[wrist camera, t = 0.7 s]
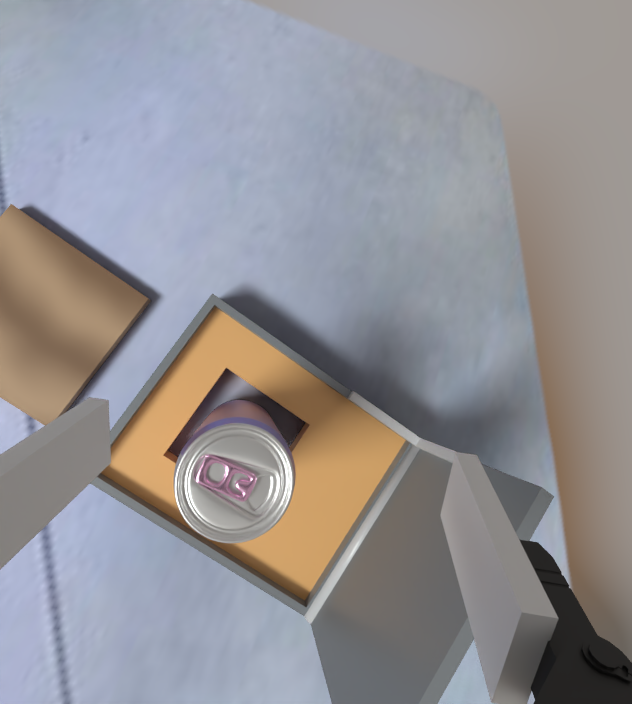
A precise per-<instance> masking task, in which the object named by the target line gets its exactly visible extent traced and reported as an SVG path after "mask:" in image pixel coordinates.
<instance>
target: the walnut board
mask: <svg viewBox="0 0 632 704" xmlns="http://www.w3.org/2000/svg"><path fill="white" fill-rule="evenodd" d="M150 302H151V300H150V299H148V298H147V297H145V296H144V295H143V294H141V293H140V292H138V291H137V290H135V289H134V288H132V287H131V286H130V285H128V284H127V283H125V282H124V281H122V280H121V279H119V278H118V277H116V276H115V275H114V274H112V273H111V272H109V271H108V270H106V269H105V268H103V267H102V266H100V265H99V264H98V263H96V262H95V261H93V260H92V259H90V258H89V257H87V256H86V255H85V254H83V253H82V252H80V251H79V250H77V249H76V248H74V247H73V246H71V245H70V244H69V243H67V242H66V241H64V240H63V239H61V238H60V237H58V236H57V235H56V234H54V233H53V232H51V231H50V230H48V229H47V228H45V227H44V226H42V225H41V224H40V223H38V222H37V221H35V220H34V219H32V218H31V217H29V216H28V215H26V214H25V213H24V212H22V211H21V210H19V209H18V208H16V207H15V206H13V205H12V204H11V205H10V206H9V207H8V209H7V210H6V211H5V212H4V213H3V214H2V216H1V217H0V397H1V398H2V399H4V400H5V401H7V402H9V403H10V404H12V405H13V406H15V407H17V408H18V409H20V410H21V411H23V412H25V413H26V414H28V415H29V416H31V417H32V418H34V419H36V420H37V421H39V422H40V423H42V424H44V425H45V426H46V425H47V424H49V423H50V422H52V421H53V420H55V419H56V418H58V417H60V416H61V415H63V414H64V413H66V411H67V410H68V409H69V408H70V406H71V405H72V404H73V402H74V401H75V400H76V398H77V397H78V396H79V394H80V393H81V392H82V391H83V389H84V388H85V387H86V385H87V384H88V383H89V381H90V380H91V379H92V377H93V376H94V375H95V374H96V372H97V371H98V370H99V368H100V367H101V366H102V364H103V363H104V362H105V360H106V359H107V358H108V357H109V355H110V354H111V353H112V351H113V350H114V349H115V347H116V346H117V345H118V344H119V342H120V341H121V340H122V338H123V337H124V336H125V334H126V333H127V332H128V330H129V329H130V328H131V327H132V325H133V324H134V323H135V321H136V320H137V319H138V317H139V316H140V315H141V313H142V312H143V311H144V310H145V308H146V307H147V306H148V304H149V303H150Z"/></svg>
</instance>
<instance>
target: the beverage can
mask: <svg viewBox="0 0 632 704" xmlns="http://www.w3.org/2000/svg"><path fill="white" fill-rule="evenodd" d="M295 479H296V471H295V463H294V459H293V456H292V453H291V451H290V449H289V447H288V445H287V443H286V442H285V440H284V438H283V437H282V435H281V433H280V432H279V430H278V428H277V427H276V425H275V423H274V422H273V420H272V418H271V417H270V415H269V414H268V413H267V411H266V410H265V409H263V408H262V407H261V406H259V405H258V404H256V403H253V402H251V401H246V400H233V401H229V402H226V403H223V404H221V405H220V406H218V407H217V408H215V409H214V410H213V411H212V412H211V413H210V414H209V415H208V417H207V418H206V419H205V420H204V422H203V423H202V424H201V425H200V427H199V428H198V429H197V430H196V432H195V433H194V434H193V435H192V437H191V438H190V439H189V440H188V442H187V443H186V444H185V446H184V447H183V449H182V451H181V452H180V455H179V457H178V459H177V462H176V466H175V470H174V492H175V499H176V503H177V506H178V508H179V511H180V513H181V515H182V516H183V518H184V519H185V521H186V522H187V523H188V524H189V526H190V527H191V528H192V529H194V530H195V531H196V532H197V533H199V534H200V535H202V536H204V537H206V538H208V539H210V540H213V541H217V542H221V543H241V542H246V541H249V540H252V539H255V538H257V537H259V536H261V535H263V534H264V533H266V532H267V531H269V530H270V529H271V528H272V527H274V526H275V525H276V524H277V523H278V521H279V520H280V519H281V518H282V516H283V515H284V513H285V512H286V510H287V508H288V506H289V504H290V501H291V498H292V495H293V491H294V486H295Z"/></svg>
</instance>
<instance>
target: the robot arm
mask: <svg viewBox="0 0 632 704" xmlns="http://www.w3.org/2000/svg"><path fill="white" fill-rule="evenodd" d="M110 463H111V450H110V425H109V400H104V399H97V398H91V397H89V398H87V399H86V400H84V401H83V402H81V403H80V404H78V405H77V406H75V407H73V408H72V409H70V410H69V411H67V412H66V413H64V414H63V415H61V416H60V417H58V418H56V419H55V420H53V421H52V422H50V423H49V424H47V425H46V426H44V427H42V428H41V429H39V430H38V431H36V432H35V433H33V434H32V435H30V436H29V437H27V438H25V439H24V440H22V441H21V442H19V443H18V444H16V445H15V446H13V447H11V448H10V449H8V450H7V451H5V452H4V453H2V454H1V455H0V569H1V568H2V567H3V566H4V565H6V564H7V563H8V562H9V561H10V560H11V559H12V558H13V557H14V556H15V555H16V554H17V553H18V552H19V551H20V550H21V549H22V548H23V547H24V546H25V545H26V544H27V543H28V542H29V541H30V540H31V539H32V538H34V537H35V536H36V535H37V534H38V533H39V532H40V531H41V530H42V529H43V528H44V527H45V526H46V525H47V524H48V523H49V522H50V521H51V520H52V519H53V518H54V517H55V516H56V515H57V514H58V513H59V512H61V511H62V510H63V509H64V508H65V507H66V506H67V505H68V504H69V503H70V502H71V501H72V500H73V499H74V498H75V497H76V496H77V495H78V494H79V493H80V492H81V491H82V490H83V489H84V488H85V487H86V486H87V485H89V484H90V483H91V482H92V481H93V480H94V479H95V478H96V477H97V476H98V475H99V474H100V473H101V472H102V471H103V470H104V469H105V468H106V467H107V466H108V465H109V464H110ZM440 516H441V519H442V523H443V527H444V530H445V534H446V538H447V542H448V545H449V549H450V553H451V556H452V560H453V564H454V567H455V571H456V575H457V578H458V582H459V586H460V589H461V593H462V597H463V600H464V604H465V608H466V611H467V615H468V619H469V622H470V626H471V630H472V633H473V637H474V641H475V644H476V648H477V652H478V655H479V659H480V663H481V666H482V670H483V674H484V677H485V681H486V685H487V688H488V692H489V696H490V699H491V702H492V703H498V704H527V701H528V699H529V696H530V693H531V691H532V692H533V695H534V698H535V702H534V704H632V663H631V662H630V660H629V659H628V658H627V657H626V656H625V655H624V654H623V652H622V651H620V650H619V649H618V648H617V647H615V646H614V645H613V644H611V643H610V642H609V641H607V640H605V639H603V638H601V637H599V636H598V635H597V634H596V632H595V630H594V628H593V627H592V625H591V623H590V622H589V620H588V618H587V616H586V614H585V613H584V611H583V609H582V607H581V606H580V604H579V602H578V600H577V599H576V597H575V595H574V593H573V592H572V590H571V589H569V585H568V583H567V581H566V580H565V578H564V576H562V575H561V571H560V569H559V567H558V566H557V564H556V562H555V560H554V559H553V557H552V556H551V555H550V554H549V553H548V552H547V551H546V550H545V549H544V548H543V547H542V546H541V545H540V544H539V543H538V542H532V541H525V540H519V538H518V536H517V534H516V532H515V530H514V528H513V526H512V524H511V522H510V520H509V518H508V516H507V514H506V512H505V510H504V508H503V506H502V504H501V502H500V500H499V498H498V496H497V494H496V492H495V490H494V488H493V486H492V484H491V482H490V480H489V478H488V476H487V474H486V472H485V470H484V468H483V466H482V464H481V462H480V460H479V458H478V456H477V455H473V454H467V453H460V452H455V456H454V460H453V464H452V468H451V473H450V477H449V481H448V485H447V489H446V493H445V498H444V502H443V506H442V510H441V514H440Z"/></svg>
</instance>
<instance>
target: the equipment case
mask: <svg viewBox="0 0 632 704" xmlns="http://www.w3.org/2000/svg"><path fill="white" fill-rule="evenodd" d="M226 369H229V370H230V371H232V372H233V373H235V374H236V375H238V376H239V377H241V378H242V379H243V380H245V381H246V382H248V383H249V384H251V385H252V386H254V387H255V388H257V389H258V390H260V391H261V392H262V393H264V394H265V395H267V396H268V397H270V398H271V399H273V400H274V401H276V402H277V403H279V404H280V405H281V406H283V407H284V408H286V409H287V410H289V411H290V412H292V413H293V414H295V415H296V416H298V417H299V418H300V419H302V420H303V421H305V422H306V423H305V425H304V426H303V428H302V429H301V431H300V432H299V434H298V435H297V437H296V438H295V440H294V441H293V443H292V444H291V446H290V447H289V449H290V451H291V453H292V456H293V459H294V463H295V471H296V479H295V486H294V491H293V495H292V498H291V501H290V504H289V506H288V508H287V510H286V512H285V513H284V515H283V516H282V518H281V519H280V520H279V521H278V523H277V524H276V525H275V526H274V527H272V528H271V529H270V530H269V531H267V532H266V533H264V534H263V535H261V536H259V537H257V538H255V539H252V540H249V541H246V542H241V543H221V542H217V541H213V540H210V539H208V538H206V537H204V536H202V535H200V534H199V533H197V532H196V531H195V530H194V529H192V528H191V527H190V526H189V524H188V523H187V522H186V521H185V519H184V518H183V516H182V515H181V513H180V511H179V508H178V506H177V503H176V499H175V492H174V470H175V466H176V462H177V459H178V457H177V456H176V455H174V454H172V453H171V452H169V451H168V450H169V448H170V447H171V445H172V444H173V443H174V441H175V440H176V438H177V437H178V436H179V434H180V433H181V431H182V430H183V429H184V427H185V426H186V424H187V423H188V422H189V420H190V419H191V417H192V416H193V415H194V413H195V412H196V410H197V409H198V408H199V406H200V405H201V403H202V402H203V401H204V399H205V398H206V396H207V395H208V394H209V392H210V391H211V390H212V388H213V387H214V385H215V384H216V383H217V381H218V380H219V378H220V377H221V376H222V374H223V373H224V371H225V370H226ZM110 450H111V463H110V464H109V465H108V466H107V467H106V468H105V469H104V470H103V471H102V472H101V473H100V474H99V475H98V476H97V477H96V478H95V479H94V480H93V481H92V482H91V483H90V484H92V485H94V486H95V487H97V488H99V489H100V490H102V491H103V492H105V493H107V494H108V495H110V496H111V497H113V498H115V499H116V500H118V501H119V502H121V503H123V504H124V505H126V506H128V507H129V508H131V509H132V510H134V511H136V512H137V513H139V514H140V515H142V516H144V517H145V518H147V519H148V520H150V521H152V522H153V523H155V524H157V525H158V526H160V527H161V528H163V529H165V530H166V531H168V532H169V533H171V534H173V535H174V536H176V537H177V538H179V539H181V540H182V541H184V542H186V543H187V544H189V545H190V546H192V547H194V548H195V549H197V550H198V551H200V552H202V553H203V554H205V555H206V556H208V557H210V558H211V559H213V560H215V561H216V562H218V563H219V564H221V565H223V566H224V567H226V568H227V569H229V570H231V571H232V572H234V573H235V574H237V575H239V576H240V577H242V578H244V579H245V580H247V581H248V582H250V583H252V584H253V585H255V586H256V587H258V588H260V589H261V590H263V591H264V592H266V593H268V594H269V595H271V596H273V597H274V598H276V599H277V600H279V601H281V602H282V603H284V604H285V605H287V606H289V607H290V608H292V609H293V610H295V611H297V612H298V613H300V614H302V615H303V616H304V617H305V619H306V620H307V621H308V622H309V623H310V624H311V626H312V630H313V634H314V638H315V641H316V645H317V649H318V653H319V656H320V660H321V664H322V668H323V671H324V675H325V679H326V683H327V686H328V690H329V694H330V698H331V701H332V704H437V703H438V702H439V700H440V698H441V696H442V695H443V693H444V691H445V689H446V688H447V686H448V684H449V682H450V680H451V679H452V677H453V675H454V673H455V672H456V670H457V668H458V666H459V664H460V663H461V661H462V659H463V657H464V656H465V654H466V652H467V650H468V648H469V647H470V645H471V643H472V641H473V640H474V637H473V633H472V630H471V626H470V622H469V619H468V615H467V611H466V608H465V604H464V600H463V597H462V593H461V589H460V586H459V582H458V578H457V575H456V571H455V567H454V564H453V560H452V556H451V553H450V549H449V545H448V542H447V538H446V534H445V530H444V527H443V523H442V519H441V516H440V514H441V510H442V506H443V502H444V498H445V493H446V489H447V485H448V481H449V477H450V473H451V468H452V464H453V460H454V456H455V452H456V451H453V450H451V449H448V448H445V447H443V446H440V445H437V444H435V443H432V442H429V441H427V440H424V439H422V438H420V437H418V436H417V435H415V434H414V433H412V432H411V431H410V430H408V429H407V428H405V427H404V426H403V425H401V424H400V423H398V422H397V421H395V420H394V419H393V418H391V417H390V416H388V415H387V414H386V413H384V412H383V411H381V410H380V409H378V408H377V407H376V406H374V405H373V404H371V403H370V402H369V401H367V400H366V399H364V398H363V397H361V396H360V395H359V394H357V393H356V392H354V391H350V390H349V389H347V388H346V387H344V386H343V385H342V384H340V383H339V382H337V381H336V380H335V379H333V378H332V377H330V376H329V375H327V374H326V373H325V372H323V371H322V370H320V369H319V368H318V367H316V366H315V365H313V364H312V363H310V362H309V361H308V360H306V359H305V358H303V357H302V356H300V355H299V354H298V353H296V352H295V351H293V350H292V349H291V348H289V347H288V346H286V345H285V344H283V343H282V342H281V341H279V340H278V339H276V338H275V337H274V336H272V335H271V334H269V333H268V332H266V331H265V330H264V329H262V328H261V327H259V326H258V325H256V324H255V323H254V322H252V321H251V320H249V319H248V318H247V317H245V316H244V315H242V314H241V313H239V312H238V311H237V310H235V309H234V308H232V307H231V306H230V305H228V304H227V303H225V302H224V301H222V300H221V299H220V298H218V297H217V296H215V295H214V294H212V295H211V296H210V298H209V299H208V300H207V302H206V303H205V304H204V306H203V307H202V308H201V310H200V311H199V312H198V314H197V315H196V316H195V318H194V319H193V320H192V322H191V323H190V324H189V326H188V327H187V328H186V330H185V331H184V333H183V334H182V335H181V337H180V338H179V339H178V341H177V342H176V343H175V345H174V346H173V347H172V349H171V350H170V351H169V353H168V354H167V355H166V357H165V358H164V359H163V361H162V362H161V363H160V365H159V366H158V367H157V369H156V370H155V372H154V373H153V374H152V376H151V377H150V378H149V380H148V381H147V382H146V384H145V385H144V386H143V388H142V389H141V390H140V392H139V393H138V394H137V396H136V397H135V398H134V400H133V401H132V402H131V404H130V405H129V406H128V408H127V409H126V411H125V412H124V413H123V415H122V416H121V417H120V419H119V420H118V421H117V423H116V424H115V425H114V427H113V428H112V429H111V431H110ZM482 466H483V468H484V470H485V472H486V474H487V476H488V478H489V480H490V482H491V484H492V486H493V488H494V490H495V492H496V494H497V496H498V498H499V500H500V502H501V504H502V506H503V508H504V510H505V512H506V514H507V516H508V518H509V520H510V522H511V524H512V526H513V528H514V530H515V532H516V534H517V536H518V538H519V540H525V541H529V540H530V538H531V537H532V535H533V533H534V531H535V530H536V528H537V526H538V524H539V522H540V521H541V519H542V517H543V515H544V514H545V512H546V510H547V508H548V506H549V505H550V503H551V501H552V499H553V498H554V496H553V495H552V494H550V493H549V492H547V491H546V490H545V489H543V488H542V487H539V486H537V485H534V484H531V483H529V482H526V481H524V480H521V479H519V478H516V477H513V476H511V475H508V474H506V473H503V472H501V471H498V470H495V469H493V468H490V467H488V466H485V465H483V464H482Z"/></svg>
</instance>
